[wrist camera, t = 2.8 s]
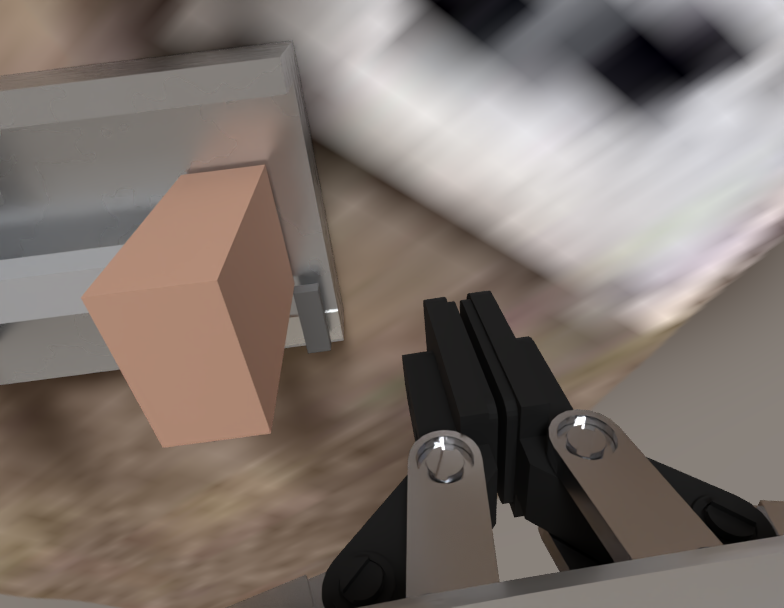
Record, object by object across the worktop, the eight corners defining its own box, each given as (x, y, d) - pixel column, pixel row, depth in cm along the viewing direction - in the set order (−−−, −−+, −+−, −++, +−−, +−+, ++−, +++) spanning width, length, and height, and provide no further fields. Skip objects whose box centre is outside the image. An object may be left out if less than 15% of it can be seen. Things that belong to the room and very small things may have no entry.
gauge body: (292, 40, 18) (251, 92, 10) (343, 310, 24) (343, 472, 16) (-210, 101, 17) (-673, 206, 9) (-18, 357, 24) (-195, 544, 16)
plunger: (293, 160, 17) (262, 274, 11) (331, 339, 22) (326, 495, 15) (-131, 213, 17) (-429, 362, 11) (-4, 382, 22) (-156, 560, 15)
